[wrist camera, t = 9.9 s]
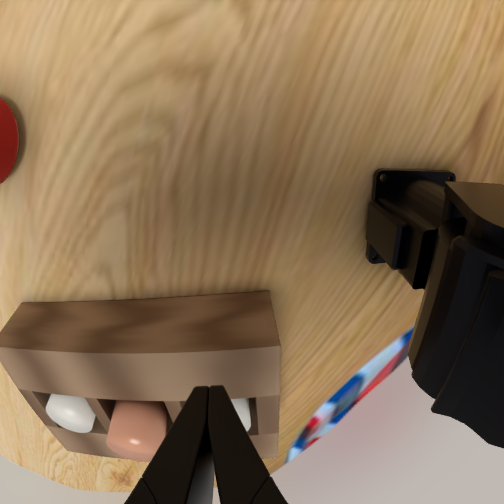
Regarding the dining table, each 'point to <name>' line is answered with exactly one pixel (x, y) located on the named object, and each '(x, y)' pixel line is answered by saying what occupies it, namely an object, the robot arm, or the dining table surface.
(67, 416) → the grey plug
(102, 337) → the walnut socket block
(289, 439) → the dining table surface
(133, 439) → the terracotta plug
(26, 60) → the dining table surface
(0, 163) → the beverage can
